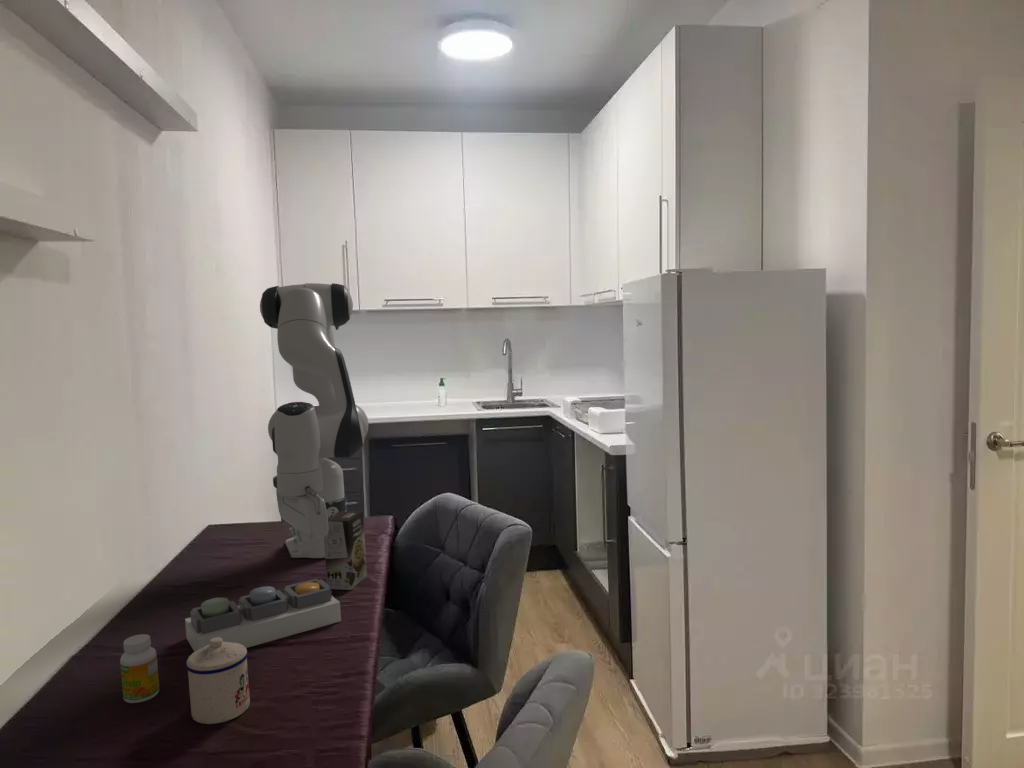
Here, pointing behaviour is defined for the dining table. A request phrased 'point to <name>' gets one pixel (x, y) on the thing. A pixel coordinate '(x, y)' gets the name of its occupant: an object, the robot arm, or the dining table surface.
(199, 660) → the teacup with lid
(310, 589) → the orange button
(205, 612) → the sage button
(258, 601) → the slate button
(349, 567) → the coffee box
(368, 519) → the dining table surface
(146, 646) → the supplement bottle
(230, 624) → the button console
